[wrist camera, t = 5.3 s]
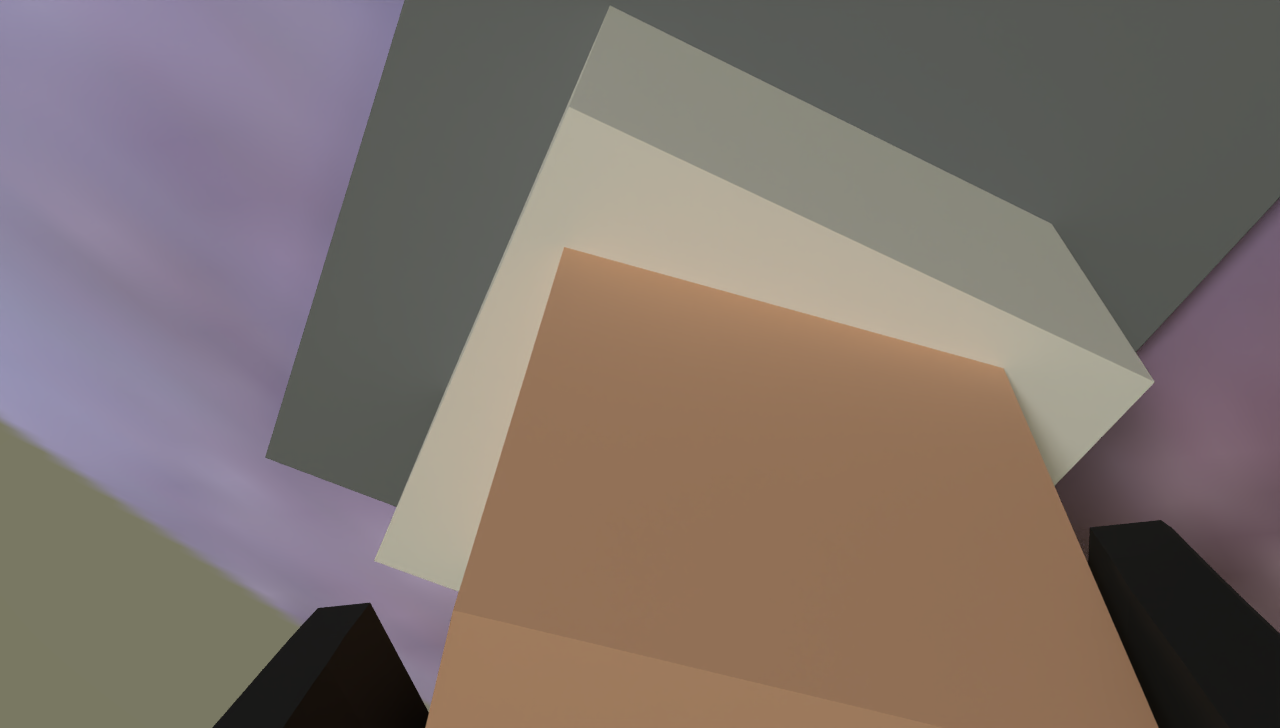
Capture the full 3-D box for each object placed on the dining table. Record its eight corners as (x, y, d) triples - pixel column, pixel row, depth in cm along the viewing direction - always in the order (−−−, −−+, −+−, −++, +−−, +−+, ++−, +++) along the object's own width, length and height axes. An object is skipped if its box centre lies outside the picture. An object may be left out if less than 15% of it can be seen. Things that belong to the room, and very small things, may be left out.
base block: (1051, 223, 14) (1155, 382, 11) (805, 535, 18) (824, 724, 14) (610, 5, 13) (568, 106, 9) (445, 390, 16) (373, 560, 13)
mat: (1694, -301, 11) (1741, -301, 10) (834, 649, 20) (837, 672, 20) (722, -994, 8) (721, -1040, 8) (277, 437, 18) (265, 457, 17)
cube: (1003, 367, 11) (1182, 784, 6) (834, 651, 13) (882, 1069, 9) (564, 246, 10) (454, 610, 6) (483, 566, 13) (369, 964, 9)
